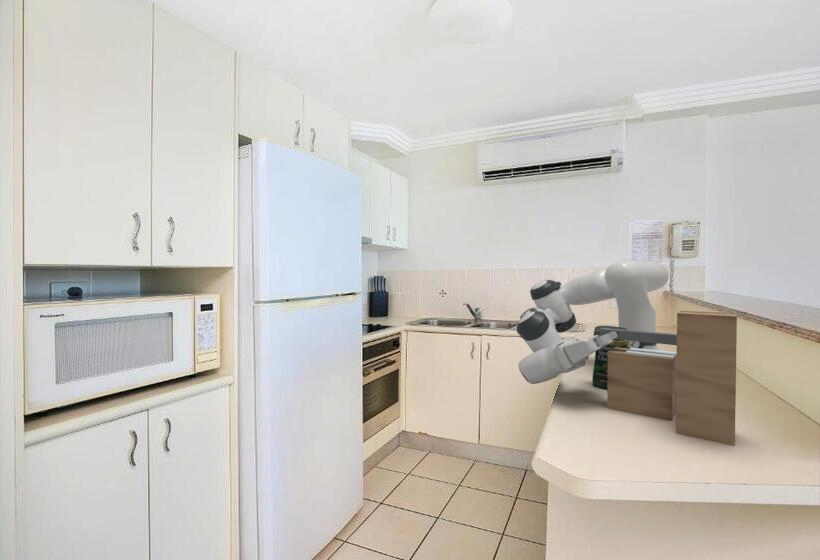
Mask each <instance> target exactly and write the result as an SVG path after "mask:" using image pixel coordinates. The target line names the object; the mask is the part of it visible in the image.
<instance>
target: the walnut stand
mask: <svg viewBox="0 0 820 560" xmlns="http://www.w3.org/2000/svg"><path fill="white" fill-rule="evenodd" d="M737 323H738V313H737V312H721V311H720V312H715V311H699V310H679V311H678V312H677V313H676V334H677V345H676V352H677V354H676V355H675V357H674V358H673V359H670V358H661V357H653V356H644V355H635V354H626V351H627V350H629V349H627V348H618V347H615V348H613V349H611V350H610V351H608V384H607V389H606V390H607V392H606V393H607V394H606V395H607V401H606V404H607V405H606V406H607V409H612V410H616V411H621V412H625V411H626V412H625V413H630V412H632V413H631V414H635V413H636V415H642V416H646V417H651V418H657V419H660V420H667V421H673V419H674V418H675V434H680V435H684V436H689V437H692V438H693V437H694V438H697V439H703V440H707V441H712V442H717V443H722V444H726V445H732V446H736V399H737V398H736V397H737V396H736V395H737V393H736V391H737V389H736V388H737V386H736V385H737V338H738V337H737V332H738V331H737V327H738V324H737Z"/></svg>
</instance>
